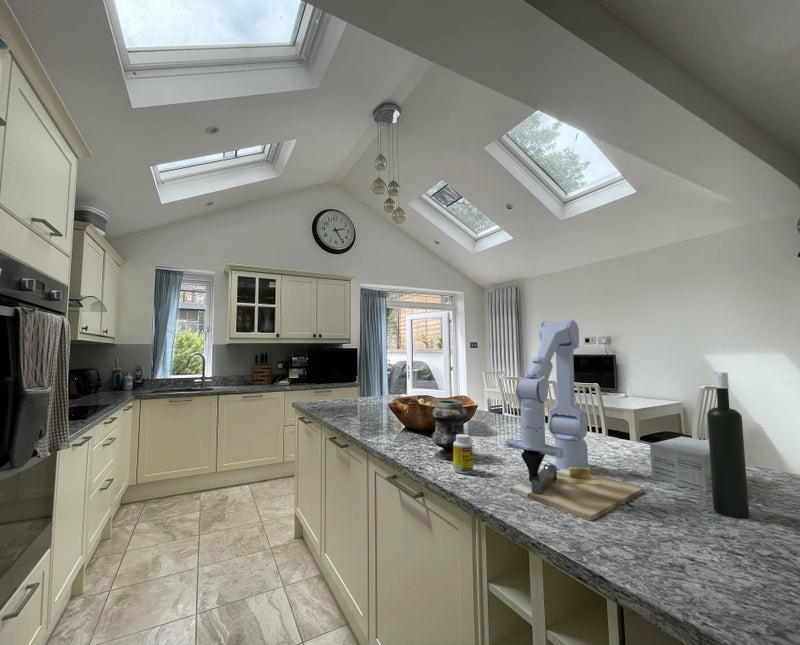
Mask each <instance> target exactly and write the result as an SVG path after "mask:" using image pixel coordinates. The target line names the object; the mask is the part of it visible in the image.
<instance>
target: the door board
mask: <svg viewBox="0 0 800 645" xmlns="http://www.w3.org/2000/svg"><path fill="white" fill-rule="evenodd" d="M644 490H645V489H644V487H641V486H638V485H634V484H630V483H626V482H622V481H619V480H615V479H612V478H607V477H603V476H599V475H597V474H596V475H595V474H592V473H591V468H582V467H569V468H564V469H561V470H559V469H557V480H556V481H554V482H553V483H552V484H551V485H550V486H549V487H548V488H547V489H546V490H545V491H544V492H543V493H542V494H540V493H536V492H532V485H531V482H530V480H527V481H523V482H521V483H519V484H515V485H513V486H510V487H509V491H510V493H512V494H513V493H514V494H516V495H518V496H521V497H524V498H527V499H530V500H532V501H535V502H538V503H539V504H544V505H545V506H549V507H552V508H554V509H557V510H560V511H562V512H564V513H568V514H571V515H573V516H577V517H579V518H582V519H583V520H587V521H590V522H592V521H594V520H595V519H597V518H599V517H601V516H602V515H604V514H607V513H609V512H610V511H612V510H614V509H615V508H617V507H619V506H621V505H622V504H624V503H627V502H629V501H631V500H632V499H634V498H636V497H638V496H640V495H641V494H643V493H644V492H645V491H644Z"/></svg>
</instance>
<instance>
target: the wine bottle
mask: <svg viewBox="0 0 800 645" xmlns="http://www.w3.org/2000/svg"><path fill="white" fill-rule="evenodd" d="M714 378H715V380H714V381H715V388H716V401H717V407H713V408H710V409H709V410H708V411H707V414H706V416H707V419H706V420H707V433H708V435H707V436H708V441H709V450H710V465H711V480H712V490H711V492H712V493H711V494H712V495H711V496H712V509H713V511H714V512H716V513H717V514H719V515H722V516H725V517H729V518H733V519H743V520H744V519H748V518H750V509H749V507H750V506H749V495H748V481H747V479H748V478H747V469H746V468H747V467H746V456H745V441H744V429H743V428H744V426H743V425H744V424H743V417H742V414H741V413H740V412H739V411H738V410H736V409H733V408H730V396H729V395H730V394H729V389H730V388H729V374H728V372H723V371H722V372H721V371H717V372H714Z"/></svg>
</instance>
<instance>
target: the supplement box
mask: <svg viewBox="0 0 800 645" xmlns="http://www.w3.org/2000/svg"><path fill="white" fill-rule="evenodd" d="M649 451H650V467H651V468H650V470H651V477H652V478H656V479H659V480H663V481H667V482H671V483H674V484H678V485H679V486H684V487H688V488H690V489H691V488H692V489H694V490H695V489H696V490H698V491H703V492H705V493H706V492H707V493H708V492H709V491H712V480H711V465H710V450H709V440H702V439H697V438H692V437H688V436H687V437H686V436H679V437H675V438H674V437H673V438H670V439H666V440H661V441H657V442H651V443H649Z"/></svg>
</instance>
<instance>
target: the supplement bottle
mask: <svg viewBox="0 0 800 645" xmlns="http://www.w3.org/2000/svg"><path fill="white" fill-rule="evenodd" d="M470 438H471V437H470V435H469V434H467V433H465V434H458V435H456V441H455V442H454V443H453V459H454V460H453V471H454V472H455V473H458V474H463V475H464V474H470V473H473V470H474V462H473V461H474V460H473V455H474V454H473V446H474V445H473V443H472V442H471V441H470V440H471V439H470Z"/></svg>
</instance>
